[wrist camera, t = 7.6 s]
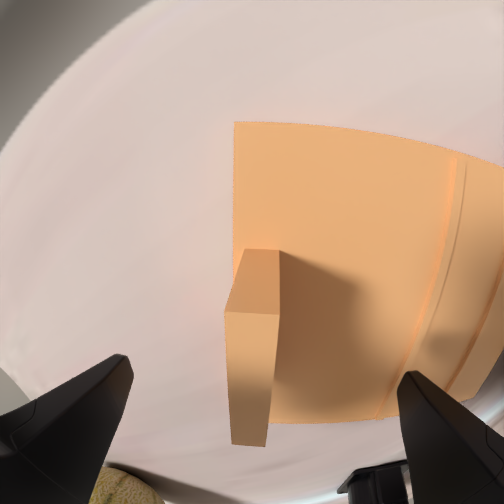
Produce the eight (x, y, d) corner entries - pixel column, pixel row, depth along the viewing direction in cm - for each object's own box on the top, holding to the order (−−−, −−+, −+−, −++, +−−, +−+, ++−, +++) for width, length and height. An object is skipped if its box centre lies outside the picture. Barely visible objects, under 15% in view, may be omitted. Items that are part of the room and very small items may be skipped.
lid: (466, 385, 13) (493, 436, 8) (239, 402, 15) (226, 479, 10) (535, 184, 8) (600, 209, 3) (239, 125, 9) (201, 100, 4)
